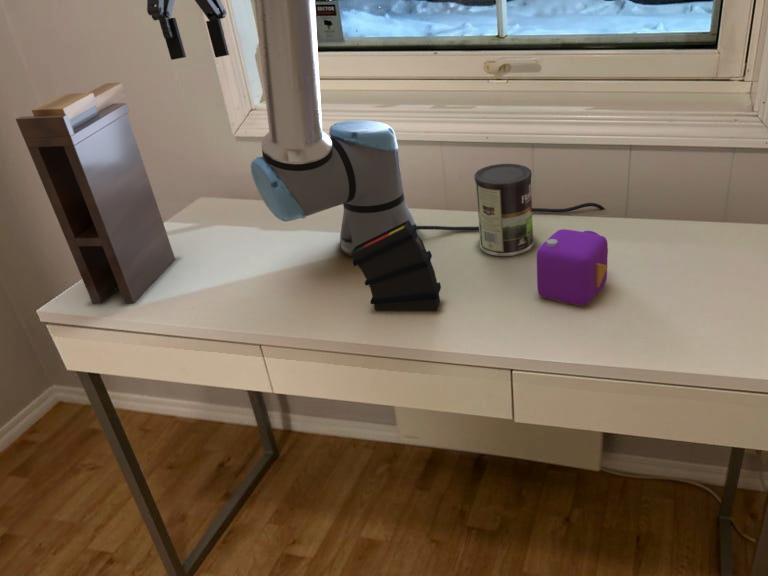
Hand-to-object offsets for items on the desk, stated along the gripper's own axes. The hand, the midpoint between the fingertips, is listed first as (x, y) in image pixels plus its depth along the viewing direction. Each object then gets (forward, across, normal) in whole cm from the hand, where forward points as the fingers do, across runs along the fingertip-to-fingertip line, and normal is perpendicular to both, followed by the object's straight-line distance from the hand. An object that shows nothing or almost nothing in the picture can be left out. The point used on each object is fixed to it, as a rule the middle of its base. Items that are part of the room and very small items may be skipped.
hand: (201, 57), depth 141 cm
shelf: (+37, +19, -14) cm, 43 cm away
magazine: (+45, +21, +40) cm, 63 cm away
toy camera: (+47, +10, +67) cm, 83 cm away
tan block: (+7, +21, -10) cm, 24 cm away
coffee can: (+42, -4, +52) cm, 67 cm away
